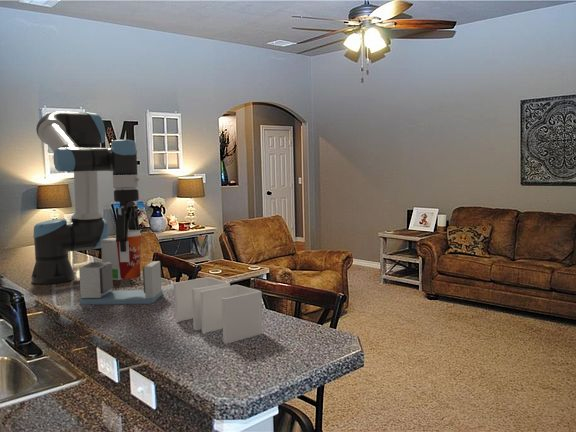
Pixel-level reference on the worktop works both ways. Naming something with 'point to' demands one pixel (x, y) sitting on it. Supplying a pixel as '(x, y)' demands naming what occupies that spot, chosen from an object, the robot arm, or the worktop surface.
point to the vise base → (134, 296)
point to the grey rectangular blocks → (219, 307)
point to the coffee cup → (131, 256)
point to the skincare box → (111, 256)
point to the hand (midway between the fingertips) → (129, 259)
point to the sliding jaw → (96, 279)
